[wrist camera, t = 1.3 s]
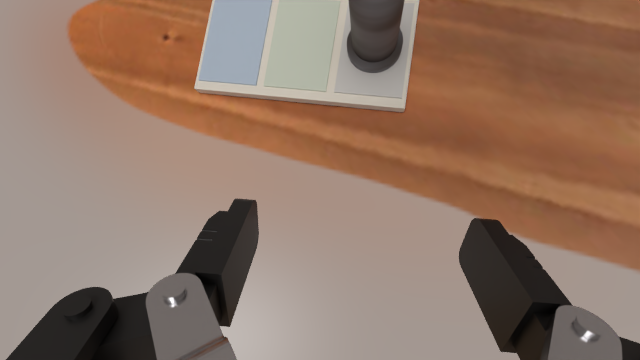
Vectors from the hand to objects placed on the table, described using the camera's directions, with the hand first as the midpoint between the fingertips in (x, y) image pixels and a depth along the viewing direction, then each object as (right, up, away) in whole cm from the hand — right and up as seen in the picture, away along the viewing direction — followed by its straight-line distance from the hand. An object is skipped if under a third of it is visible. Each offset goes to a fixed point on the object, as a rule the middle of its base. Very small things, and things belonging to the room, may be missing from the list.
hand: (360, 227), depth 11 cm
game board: (-3, +15, +19) cm, 24 cm away
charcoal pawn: (+3, +14, +16) cm, 22 cm away
